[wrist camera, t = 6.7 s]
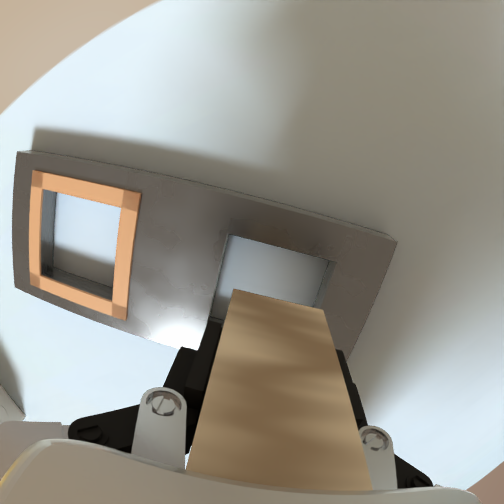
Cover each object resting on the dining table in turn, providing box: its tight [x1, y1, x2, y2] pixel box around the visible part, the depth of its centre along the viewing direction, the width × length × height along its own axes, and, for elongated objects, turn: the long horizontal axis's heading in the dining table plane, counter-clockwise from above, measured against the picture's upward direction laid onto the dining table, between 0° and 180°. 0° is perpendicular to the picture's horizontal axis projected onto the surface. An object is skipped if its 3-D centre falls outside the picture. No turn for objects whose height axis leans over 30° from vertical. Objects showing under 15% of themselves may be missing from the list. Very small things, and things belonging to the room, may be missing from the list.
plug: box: [186, 289, 373, 491], centre depth 10 cm, size 4×4×9 cm
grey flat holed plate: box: [12, 150, 397, 361], centre depth 18 cm, size 24×10×2 cm, turn 76°
